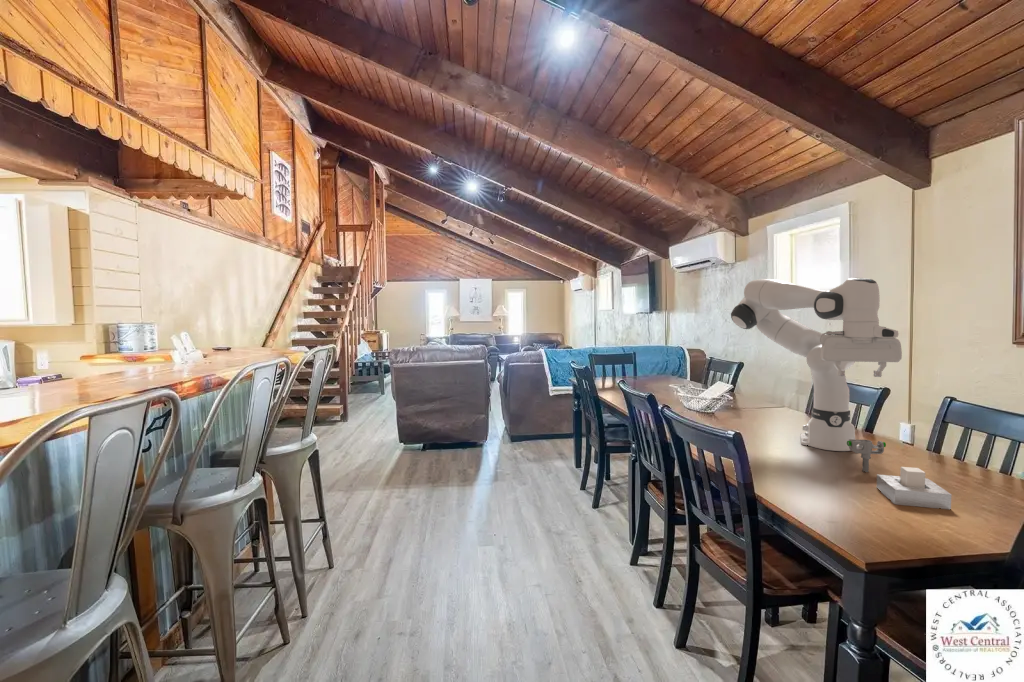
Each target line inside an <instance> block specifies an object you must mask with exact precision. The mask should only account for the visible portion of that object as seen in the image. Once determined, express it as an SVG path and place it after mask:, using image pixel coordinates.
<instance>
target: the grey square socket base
mask: <svg viewBox="0 0 1024 682" xmlns="http://www.w3.org/2000/svg"><path fill="white" fill-rule="evenodd" d="M877 488H878V489H879V490H880V491H881V492H880V491H879V492H880V493H881V494H882V495H884V496H885V497H886V498H887V499H888V500H889V499H890V500H891V501H890V500H889V501H890V502H891V503H892V504H894V505H900V506H911V507H921V508H931V509H939V508H941V510H950V509H952V495H953V494H952V493H950V492H949V491H948V490H946V489H944V488H943V487H941V486H939V484H937V483H935V482H934V481H933V480H931V479H929V478H926V477H925V488H914V487H904V486H902V485H901V484H900V476H899V475H890V474H889V475H887V474H876V489H877ZM878 489H877V490H878Z"/></svg>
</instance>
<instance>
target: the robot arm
mask: <svg viewBox="0 0 1024 682" xmlns="http://www.w3.org/2000/svg"><path fill="white" fill-rule="evenodd" d="M879 288H880V287H879V284H878V283H877V280H874V279H872V278H863V277H850V278H847V279H846V280H845V281H844V282H843V283H841V284H840V285H838V286H836V287H833V288H831V289H828V290H825V289H824V290H822V289H816V288H815V289H814V288H812V287H807V286H804V285H799V284H796V283H793V282H789V281H784V280H781V279H774V278H758V279H752V280H751V281H749V282H748V283H746V285H745V287H744V290H743V296H744V297H743V298H742V299H741V300H740V301H739V303H738V304H737V305H736V306H735V307H733V309H732V311H731V313H730V318H731V320H732V321H733V323H734V324H735V325H736V326H737V327H739V328H741V329H744V330H751V329H752V328H754V327H756V328H757V330H759V332H760V333H762V334H763V335H764V336H766V337H767V338H768V339H770V340H771V341H773V342H775V343H776V344H778V345H780V346H781V347H783V348H785V350H788V351H790V352H791V353H793V354H796V355H799V356H801V357H804V358H805V359H806V363H807V366H808V368H809V369H810V373H811V380H812V384H813V407H811V408H812V409H811V415H810V416H811V418H810V419H809V420H808V422H807V424H802V431H803V432H805V433H800V444H801V445H803V446H807V445H808V446H809V447H811V448H816V449H820V450H825V451H833V452H849V451H851V450H850V449H849V446H848V445H847V441H849V439H854V440H856V431H855V425H854V424H853V423H851V415H852V414H851V410H850V387H849V386H848V383H847V379H846V378H847V377H846V370H848V369H850V368H851V367H853V365H854V364H855V363H856V362H862V363H863V362H864V363H866V362H867V363H868V362H869V363H871V362H872V363H877V364H878V368H877V369H876V370H873V377H874V378H882V376H883V375H882V373H883V371H884V370H885V368H886V367H887V364H888V363H899V362H900V361H901V360H902V358H903V355H902V354H903V353H902V352H903V350H902V344H901V341H900V340H899V339H898V337H899V331H898V330H896V329H892V328H889V327H887V326H880V320H879V315H878V312H879V309H880V289H879ZM809 308H811V309H813V310H814V313H815V314H816V316H817V317H818V318H819V319H822V320H827V321H842V331H841V330H840V331H839V330H838V331H826V332H824V333H822V332H819V331H817V330H815V329H813V328H810V327H808V326H807V325H805V324H803V323H801V322H799V321H797V320H795V319H794V318H792V317H789V316H788V315H786V314H783V313H782V312H780V311H785V310H786V311H787V310H797V309H798V310H799V309H809ZM808 446H807V447H808ZM857 447H859V444H858V445H857Z"/></svg>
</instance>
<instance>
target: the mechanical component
mask: <svg viewBox="0 0 1024 682" xmlns="http://www.w3.org/2000/svg"><path fill="white" fill-rule="evenodd" d="M847 445H848V446H849V449H850V451H852V452H853V453H855V454H860V458H861V459H862V464H861V465H862V466H861V468H862V470H861V471H862V472H864V471H865V472H868V473H869V469H870V468H869V466H870V465H869V463H870V459H872V457H871V455H883V454H884V451H885V448H886V446H887V444H886V442H885V441H881V440H878V441H877V443H876V445H874V444H873V441H872V440H869V439H855V440H854V439H849V441H847ZM857 445H859V447H857ZM873 449H876V450H873ZM865 472H864V473H865Z"/></svg>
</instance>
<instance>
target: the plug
mask: <svg viewBox="0 0 1024 682" xmlns="http://www.w3.org/2000/svg"><path fill="white" fill-rule="evenodd" d="M899 470H900V474H899V475H900V484H901V485H902V486H904V487H914V488H925V478H926V472H925V471H924V470H922V469H920V468H919V467H910V466H900V468H899Z"/></svg>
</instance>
